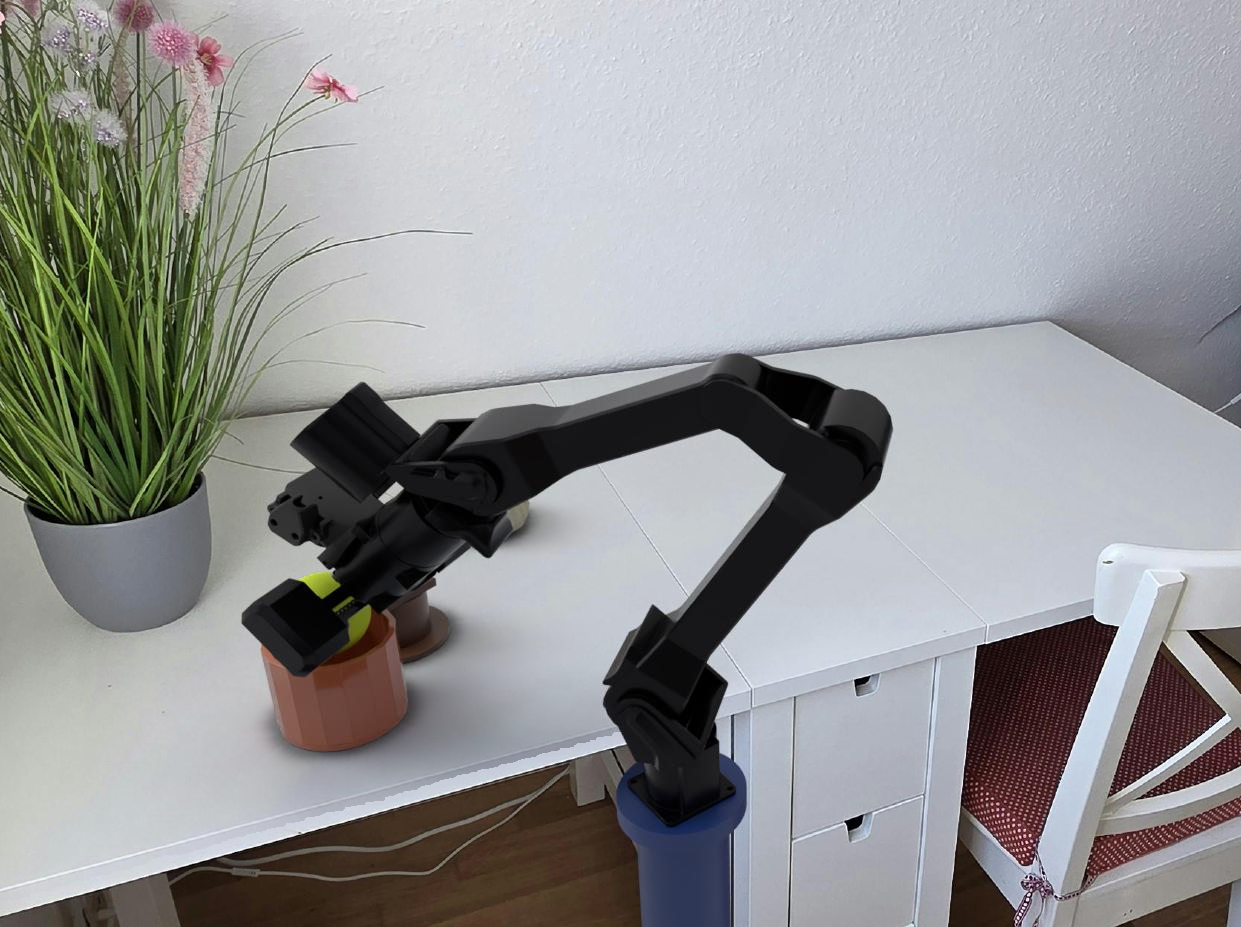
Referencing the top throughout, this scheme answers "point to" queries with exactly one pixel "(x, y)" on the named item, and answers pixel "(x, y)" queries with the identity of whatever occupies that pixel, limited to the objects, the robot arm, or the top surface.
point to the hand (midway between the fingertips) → (313, 624)
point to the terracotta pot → (343, 692)
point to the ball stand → (419, 623)
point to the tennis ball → (326, 585)
